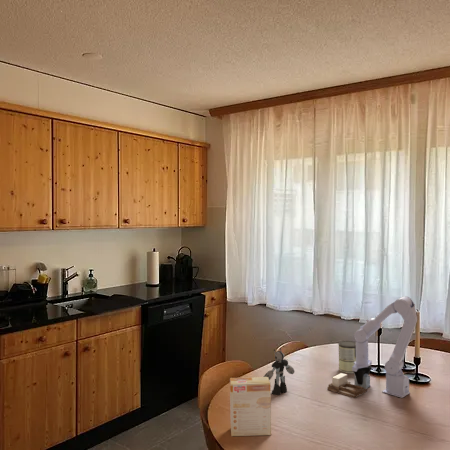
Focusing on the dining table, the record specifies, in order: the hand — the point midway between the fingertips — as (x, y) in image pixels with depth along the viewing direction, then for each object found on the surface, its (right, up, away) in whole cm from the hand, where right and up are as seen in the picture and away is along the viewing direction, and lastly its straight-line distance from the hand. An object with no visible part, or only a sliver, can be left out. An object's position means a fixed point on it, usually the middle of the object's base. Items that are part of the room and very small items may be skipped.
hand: (362, 382), depth 213 cm
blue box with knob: (0, -1, 0) cm, 1 cm away
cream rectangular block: (-11, -1, -2) cm, 11 cm away
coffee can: (0, -1, +22) cm, 22 cm away
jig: (-9, -2, -5) cm, 10 cm away
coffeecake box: (-56, -3, -44) cm, 71 cm away
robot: (-40, -2, -7) cm, 41 cm away
